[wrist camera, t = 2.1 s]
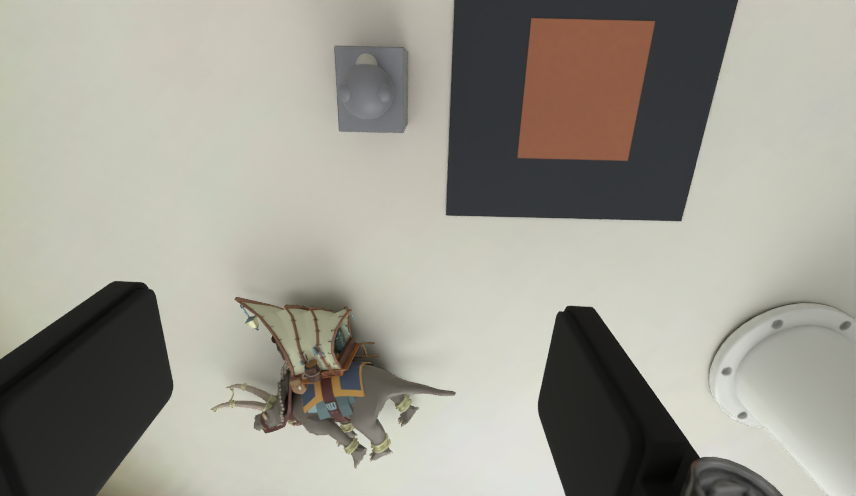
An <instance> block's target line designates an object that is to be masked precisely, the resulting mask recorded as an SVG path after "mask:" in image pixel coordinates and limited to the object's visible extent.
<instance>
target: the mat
mask: <svg viewBox="0 0 856 496" xmlns="http://www.w3.org/2000/svg"><path fill="white" fill-rule="evenodd" d="M737 2H738V0H455V7H454V32H453V57H452V82H451V108H450V133H449V158H448V183H447V208H446V215H453V216H495V217H536V218H577V219H619V220H660V221H681V220H682V216H683V212H684V208H685V204H686V201H687V197H688V193H689V189H690V185H691V181H692V177H693V173H694V169H695V166H696V162H697V158H698V154H699V150H700V146H701V142H702V138H703V134H704V130H705V127H706V123H707V119H708V115H709V111H710V107H711V103H712V99H713V95H714V92H715V88H716V84H717V80H718V76H719V72H720V68H721V64H722V60H723V57H724V53H725V49H726V45H727V41H728V37H729V33H730V29H731V25H732V21H733V18H734V14H735V10H736V6H737Z"/></svg>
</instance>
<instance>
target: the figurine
mask: <svg viewBox="0 0 856 496" xmlns="http://www.w3.org/2000/svg"><path fill="white" fill-rule="evenodd" d="M235 300H236V301H237V302H239V303H240V304H241V305H243V306H241V305H240V307H241V308H242V309H243V310H244V312H245V313H246V315H247V314H248V313H247V312H246V310H245V309H244V307H245V308H247V309H248V310H249V311H251V312H252V313H253V314H255V315H256V316H253V317H250V316H249V315H247V316H248V317H249V318H248V319H247V321H246V322H245V324H247V325H248V326H250V327H251V328H252V329H253V328H254V329H257V330H259V329H258V326H259V325H258V320H257V317H259V318H260V320H261V321H262V322H263V323H264V325H265V326H266V327H267V329H268V330H269V331H270V332H271V334H272V335H273V336H272V338H271V340H272V342H273V343H275V344H276V345H277V349H278V351H279V352H280V353H281V356H282V357H283V360H286V363H285V365H284V366H283V367H282V370H281V381H279V382H278V395H279V396H273V395H270V394H268V393H267V392H265V391H263V390H261V389H258V388H255V387H253V386H249V385H246V384H235V385H231V386H228V387H226V388H230V390H232V392H233V394H232V397H231V399H230V401H231V400H232V398H233V396H234V391H233V389H231V388H240V389H242V390H243V391H244V390H246V391H249V392H251V393H253V394H255V395H257V396H258V397H260V398H262V399H263V400H265V401H266V402H267V403H266V404H265V403H261V402H255V401H234V400H233V401H231V402H230V401H229V402H226V403H222V404H219V405H217V406H215V407H214V408H212V409H210V410H213V411H214V409H216V410H219V409H220V408H222V407H232V408H233V407H246V408H252V409H257V410H261V411H262V413H261V414H258V415H256V417H255V423H254V428H255V429H256V430H259V431H260V430H261V429H263V430H264V432H265V433H269V432H273V431H276V430H279V429H281V428H283V427H285V425H286V423H287V421H288V424H290V425H294V426H295V425H297V426H298V425H302V424H303V426H304V427H305V428H306V430H307V431H309V432H310V433H314V434H316V435H328V434H329V435H330V436H331V437H333V438H334V439H336V440H337V442H336V443H338V447H339V446H340V445H343V446H344V450H345V452H346V453H348V454H350V453H351V455H352V456H353V460H354V462H355V463H354V467H355V468H356V467H357V465H359V462H360V461H361V460H362V459H363V456H364V455H366V450H367V449H366V448H365V447H363V446H362V445H361V444H359V442H357V438H356V439H355V436H357V434H356V433H355V432H354V431H353V429H354V427H355V428H356V429H357V430H359V431H360V432H361V433H363V434H364V435H365V436H366V437H367V438H368V439H369V440H370V441H371V445H372V446H371V448H374V449H373V450H372V452H373V453H371V454H370V456H372V457H371V459H370V462H371V461H373V460H376V459H378V458H380V457H382V456H384V455H387V454H389V453H393V452H392V451H391V450H390V449H389V445H390V443H391V442H390V439H388V434H387V433H385V431H384V429H383V427H382V425H381V424H380V422H379V420H378V419H377V417H378V414H379V412H380V411H381V409H382V408H383V406H384V404H385V401H386V400H387V399H389V398H390V399H391V400H392V401H393V402H395V406H396V409H399V411H401V412H402V413H401V414H400V416H401V417H399V418H398V421H399V424H400V423H402V424H401V427H402V426H404V425H405V424H406V423H408V422H409V420H410V419H411V417H412V416H413V415H414V413H415V412H416V410H418V409H419V407H414V406H411V402H412V401H411V399H409V396H406V395H405V394H422V393H424V394H433V395H440V396H453V395H455V394H456V393H455V392H453V391H446V390H439V389H436V388H432V387H429V386H426V385H422V384H418V383H414V382H410V381H406V380H403V379H401V378H398V377H397V376H395V375H393V374H392V373H390V372H388V371H386V370H384V369H381V368H377V367H374V366H371V365H373V364H372V363H371V362H360V361H352V360H353V358H356V357H379V356H380V355H367V352H366V349H365V347H364V344H375V342H365V343H355V341H354V339H353V337H352V334H351V327H350V313H351V311H352V310H351V309H350V308H349V307H347V308H346V307H345V308H346V309H345V308H344V310H342V311H339V312H337V313H334V312H333V311H332V310H327V309H323V308H318V307H312V306H311V307H310V308H307V307H303V306H299V305H285V306H284V308H285V309H283V308H280V307H277V306H274V305H270V304H266V303H261V302H257V301H253V300H248V299H244V298H239V297H236V298H235ZM243 302H244V303H243ZM288 308H289V309H288ZM351 315H352V313H351ZM352 317H353V315H352ZM353 318H354V317H353ZM354 320H355V318H354ZM360 344H361V345H362V347H363V350H364V352H365V355H363V356H355V354H356V352H357V350H358V349H359V347H360ZM287 364H288V366H289V368H288V370H287ZM283 372H284V374H283ZM216 410H215V411H216ZM215 411H214V412H215ZM290 422H292V423H290ZM335 422H341V424H342V425H341V426H340V427H342V428H340V427H339V426H338V425H337V424H336V423H335ZM277 425H279V426H277ZM276 426H277V427H276Z"/></svg>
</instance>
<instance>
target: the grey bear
mask: <svg viewBox="0 0 856 496" xmlns="http://www.w3.org/2000/svg"><path fill="white" fill-rule="evenodd" d="M334 50H335V68H336V87H337V105H338V123H339V131H340V132H379V133H404V131H405V129H406V126H407V120H408V51H407V50H405V49H404V48H403V47H365V46H335V47H334Z"/></svg>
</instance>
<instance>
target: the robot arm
mask: <svg viewBox="0 0 856 496" xmlns="http://www.w3.org/2000/svg"><path fill="white" fill-rule="evenodd" d="M709 384H710V390H711V393H712V395H713V398H714V399H715V401H716V402H717V404H718V405H719V406H720V407H721V408H722V409H723V411H724V412H725V413H726V414H727V415H728V416H729V417H731V418H732V419H734V420H735V421H737V422H740V423H742V424H745V425H747V426H752V427H757V428H765V429H766V430H767V432H768V433H769V434H770V435H771V436H772V437H773V438H774V439H775V440H776V441H777V442H778V443H779V444H780V445H781V447H782V448H783V449H784V450H785V451H786V452H787V453H788V454H789V455H790V456H791V457H792V458H793V459H794V460H795V461H796V463H797V464H798V465H799V466H800V467H801V468H802V469H803V470H804V471H805V472H806V473H807V474H808V475H809V476H810V478H811V479H812V480H813V481H814V482H815V483H816V484H817V485H818V486H819V487H820V488H821V489H822V490H823V491H824V493H825V494H826V495H827V496H856V320H854V319H853V318H851V317H850V316H848V315H846V314H845V313H843V312H841V311H839V310H837V309H835V308H832V307H830V306H826V305H821V304H816V303H799V304H792V305H785V306H782V307H778V308H775V309H771V310H769V311H767V312H765V313H762V314H760V315H758V316H756V317H754V318H753V319H751V320H749V321H748V322H746V323H744V324H743V325H742V326H740V327H739V328H738V329H737V330H736V331H734V332H733V333H732V334H731V335H730V336H729V337H728V339H727V340H726V341H725V342H724V343H723V344H722V346H721V347H720V349H719V350H718V352H717V354H716V355H715V357H714V360H713V362H712V365H711V368H710V375H709ZM172 391H173V380H172V375H171V370H170V365H169V360H168V355H167V350H166V345H165V340H164V335H163V330H162V325H161V320H160V315H159V310H158V305H157V300H156V295H155V293H154V291H153V290H151V289H148V287H147V285H146V284H144V283H142V282H124V281H114V282H112V283H110V284H108V285H107V286H106V287H104V288H103V289H101V290H100V291H98V292H97V293H95V294H94V295H93V296H91V297H90V298H88V299H87V300H85V301H84V302H82V303H81V304H80V305H78V306H77V307H75V308H74V309H72V310H71V311H69V312H68V313H67V314H65V315H64V316H62V317H61V318H59V319H58V320H56V321H55V322H54V323H52V324H51V325H49V326H48V327H46V328H45V329H43V330H42V331H41V332H39V333H38V334H36V335H35V336H33V337H32V338H30V339H29V340H28V341H26V342H25V343H23V344H22V345H20V346H19V347H17V348H16V349H15V350H13V351H12V352H10V353H9V354H7V355H6V356H4V357H3V358H2V359H0V496H96V495H97V494H98V492H99V491H100V490H101V488H102V487H103V486H104V484H105V483H106V482H107V480H108V479H109V478H110V476H111V475H112V474H113V473H114V471H115V470H116V469H117V467H118V466H119V465H120V463H121V462H122V461H123V459H124V458H125V457H126V455H127V454H128V453H129V452H130V450H131V449H132V448H133V446H134V445H135V444H136V442H137V441H138V440H139V438H140V437H141V436H142V434H143V433H144V432H145V431H146V429H147V428H148V427H149V425H150V424H151V423H152V421H153V420H154V419H155V417H156V416H157V415H158V414H159V412H160V411H161V410H162V408H163V407H164V406H165V404H166V403H167V402H168V400H169V399H170V397H171V394H172ZM538 412H539V417H540V420H541V423H542V426H543V429H544V432H545V435H546V438H547V441H548V444H549V447H550V450H551V453H552V456H553V459H554V462H555V465H556V468H557V471H558V474H559V477H560V480H561V483H562V486H563V489H564V492H565V495H566V496H783V495H782V494H781V493H780V492H779V491H778V490H777V489H776V488H775V487H774V486H773V485H772V484H770V483H769V482H768V481H767V480H765V479H764V478H763V477H762V476H760V475H759V474H757V473H755V472H753V471H752V470H750V469H748V468H747V467H745V466H743V465H740V464H738V463H735V462H733V461H730V460H727V459H722V458H717V457H702V458H700V457H699V456H698V454H697V453H696V451H695V450H694V449H693V447H692V446H691V444H690V443H689V441H688V440H687V438H686V437H685V436H684V434H683V433H682V431H681V430H680V429H679V427H678V426H677V424H676V423H675V421H674V420H673V419H672V417H671V416H670V414H669V413H668V412H667V410H666V409H665V407H664V406H663V405H662V403H661V402H660V400H659V399H658V398H657V396H656V395H655V393H654V392H653V391H652V389H651V388H650V386H649V385H648V383H647V382H646V381H645V379H644V378H643V376H642V375H641V374H640V372H639V371H638V369H637V368H636V367H635V365H634V364H633V362H632V361H631V360H630V358H629V357H628V355H627V354H626V353H625V351H624V350H623V348H622V347H621V345H620V344H619V343H618V341H617V340H616V338H615V337H614V336H613V334H612V333H611V331H610V330H609V329H608V327H607V326H606V324H605V323H604V322H603V320H602V319H601V317H600V316H599V315H598V313H597V312H596V310H595V309H594V308H593V307H581V306H567V307H566V309H565V310H564V312H562V311H559V312H558V314H557V316H556V320H555V325H554V330H553V334H552V339H551V344H550V348H549V353H548V358H547V362H546V367H545V372H544V376H543V381H542V386H541V390H540V395H539V400H538Z"/></svg>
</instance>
